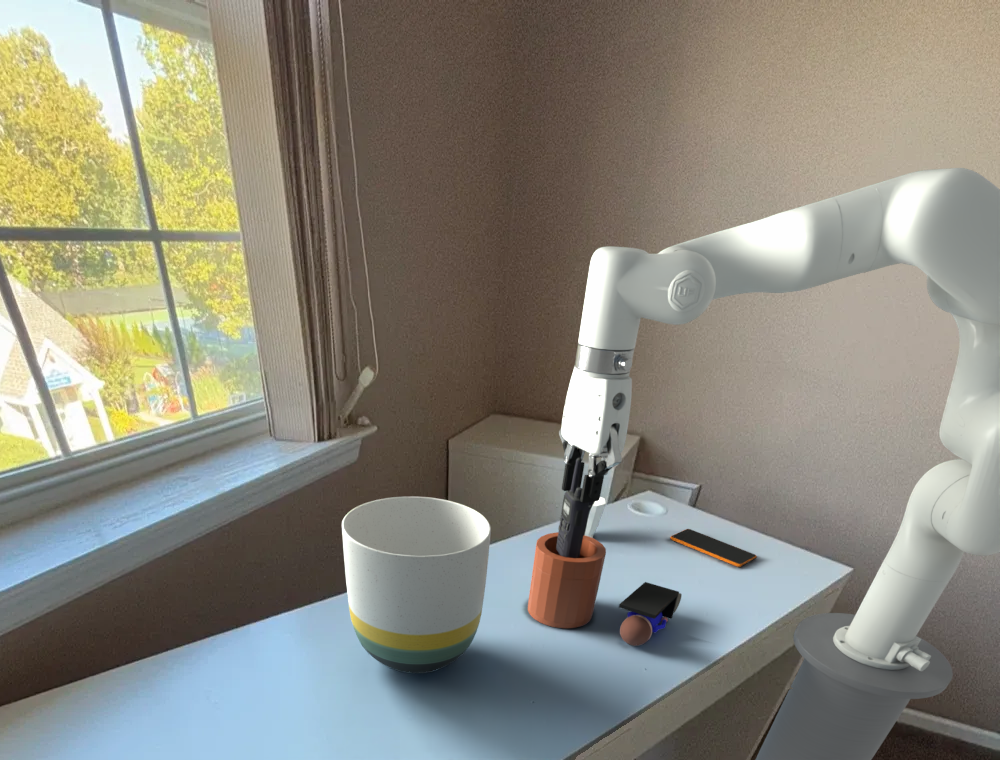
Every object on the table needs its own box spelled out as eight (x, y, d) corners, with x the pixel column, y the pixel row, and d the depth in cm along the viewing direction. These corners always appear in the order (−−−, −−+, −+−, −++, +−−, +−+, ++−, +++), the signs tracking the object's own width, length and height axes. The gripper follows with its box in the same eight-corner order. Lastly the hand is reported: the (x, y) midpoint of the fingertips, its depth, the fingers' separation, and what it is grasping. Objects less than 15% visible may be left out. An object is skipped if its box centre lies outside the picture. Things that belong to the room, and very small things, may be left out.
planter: (431, 715, 87) (436, 572, 73) (323, 665, 94) (309, 527, 80) (502, 652, 100) (517, 520, 86) (402, 612, 107) (402, 486, 93)
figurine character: (638, 614, 114) (607, 641, 103) (650, 574, 110) (619, 598, 99) (674, 626, 111) (646, 656, 100) (687, 586, 107) (660, 612, 96)
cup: (603, 535, 136) (611, 498, 131) (587, 551, 130) (594, 513, 124) (573, 527, 139) (580, 490, 134) (555, 543, 132) (561, 505, 127)
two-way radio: (552, 548, 105) (566, 454, 96) (578, 547, 106) (594, 454, 96) (562, 563, 101) (578, 466, 91) (589, 562, 102) (607, 466, 92)
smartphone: (739, 568, 127) (740, 564, 127) (668, 540, 136) (669, 536, 136) (757, 558, 131) (758, 554, 131) (687, 531, 140) (688, 527, 140)
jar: (604, 621, 109) (619, 555, 101) (549, 633, 104) (561, 566, 97) (568, 591, 116) (579, 528, 108) (515, 602, 112) (523, 537, 104)
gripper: (666, 373, 81) (633, 512, 93) (590, 347, 93) (569, 474, 104) (619, 376, 79) (592, 519, 90) (546, 349, 90) (530, 479, 102)
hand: (580, 494), depth 97 cm, fingers closed on two-way radio, 4 cm apart
